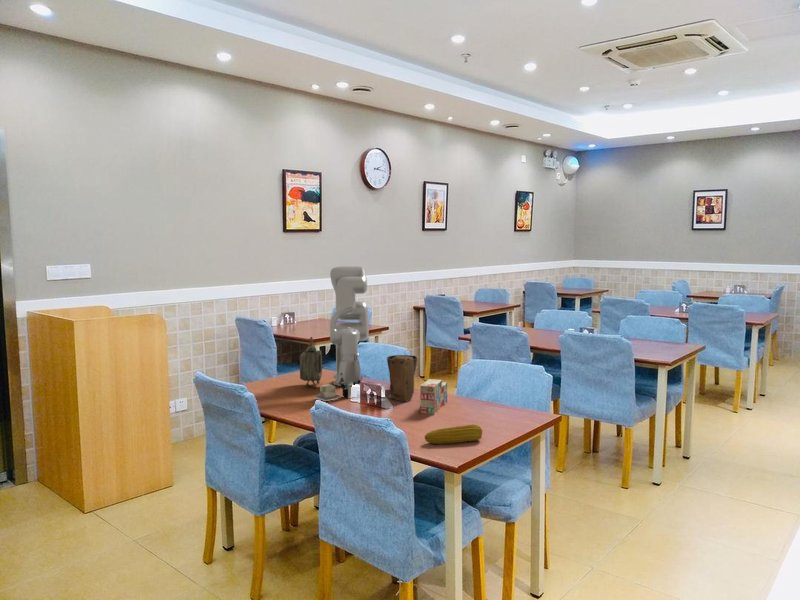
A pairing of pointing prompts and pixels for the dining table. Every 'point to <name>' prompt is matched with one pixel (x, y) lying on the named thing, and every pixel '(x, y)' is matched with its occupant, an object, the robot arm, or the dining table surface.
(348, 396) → the sage block
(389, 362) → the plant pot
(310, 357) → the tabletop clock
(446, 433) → the food
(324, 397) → the blueprint pad
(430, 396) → the stack of blocks
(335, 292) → the robot arm
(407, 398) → the brown tapered cylinder
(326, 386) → the birch block
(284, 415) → the dining table surface
